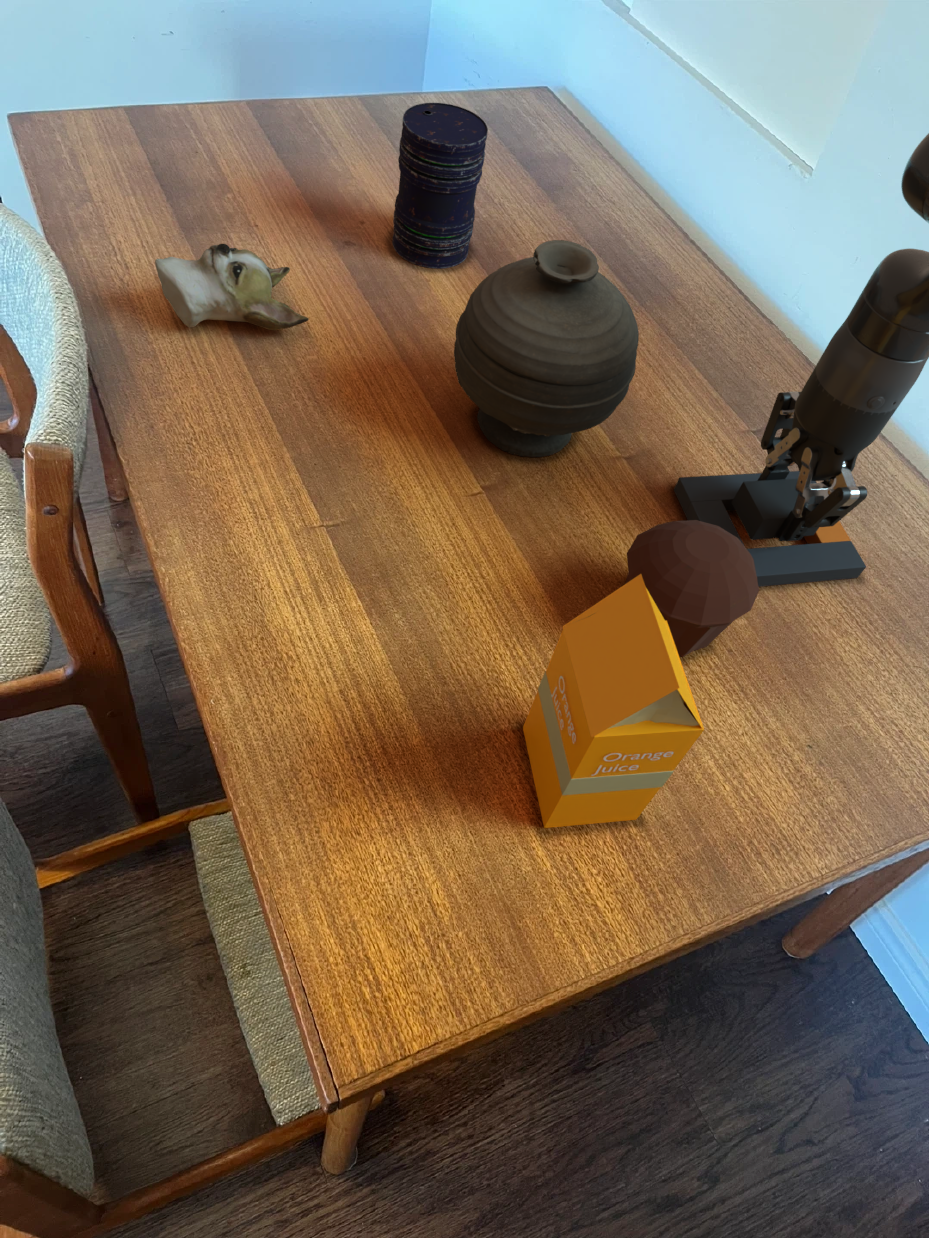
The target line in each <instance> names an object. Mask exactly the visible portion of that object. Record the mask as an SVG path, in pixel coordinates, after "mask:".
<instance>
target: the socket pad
mask: <svg viewBox="0 0 929 1238" xmlns="http://www.w3.org/2000/svg"><path fill="white" fill-rule="evenodd" d="M789 471H790V472H789V474H788V476H787V477H786V479H798V477H799V474H800V472H799V470H793V471H791V470H789ZM761 474H762V472H757V473H739V474H738V473H737V474H718V475H700V476H682V477H678V479H677V481H676V483H675V485H674V488H673V491H674V494H675V496H676V498H677V500H678V502H679V504H680V507H681V509H682V511H683V513H684V515H685V517H686V519H687V520H698V521H701V522H705V523H709V524H713V525H716V526H719V527H721V528H722V529H724V530H726V531H727V532H729V533H731V534H732V535H734V536H735V537H737V538H738V539H739V540H740V541H741V543H742V544H743V545H744V546H745V544H744V542H743V540H742V537H740V535H739V532H738V530H737V528H736V526H735V525H734V522H733V520H732V519H731V517H730V514H729V513H728V512H731V511H732V512H733V511H736V510H735V508H734V506H733V504H732V501H733V499H734V497H735V496H736V494H737V492H738V490H739V488H740V487H741V485H742V483H743V482H745V481H757V480H758V479H759V477H760V475H761ZM811 483H817V481H811ZM687 520H686V521H687ZM803 538H804V540H805V542H806V543H805V544H791V545H778V546H766V547H765V546H764V547H753V548H746V549H747V550H748V551H749V553H750V554H751V556H752V558H753V560H754V565H755V570H756V575H757V582H758V586H759V588H760V587H770V586H772V587H773V586H781V585H793V584H794V585H795V584H805V583H815V582H826V581H837V580H838V581H839V580H850V579H857V578H859V577H860V576H861V574H862V573H863V572H864V571H865V570H866V568H867V565H866V564H865V563H866V562H865V561H864V560H863V558H862V557H861V555H860V554H859V552H858V550H857V548H856V547H855V544H854V543H853V541H852V539H851V538H850V536H849V535H848V533H847V530H845V528H844V526H843V525H842V523H841V520H840V521H838V522H837V523H836V524H835V525H834V526H829V527H819V528H818V530H817V531H816V533H815V534H814V535H813V536H803Z"/></svg>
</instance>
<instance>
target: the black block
mask: <svg viewBox="0 0 929 1238" xmlns="http://www.w3.org/2000/svg"><path fill="white" fill-rule="evenodd" d="M797 480H798V479H780V480H763V481H745V482H743V483H742V485H741V487H740V488H739V490H738V492H737V494H736V496H735V497H734V499H733V501H732V504H733V506H734V508H735V510H734V511H735V513H736V514H737V516H738V518H739V520H740V522H741V524H742V527H743V528H744V531H746V533H747V536H748V538H749V539H750V541H757V540H758V541H760V540H771V539H778V537H777V535H776V534H777V532H778V530H779V529H780V527H781V526H782V524H783V523H784V521H785V520H786V518H787V517H788V515H789V513H790V512H791V510H794V506H795V503H796V500H797V496H798V492H797V491H796V490H795V487H796V484H797ZM814 500H815V496H813V497H811V498H810V500H809V503H808V504H813V503H814ZM818 528H819V527H815V528H809V529H808V530H807V531H806V533H805V534H804V536H813V535H814V534H815V533H816V531H817V530H818ZM804 536H803V537H804Z"/></svg>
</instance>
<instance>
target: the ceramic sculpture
mask: <svg viewBox="0 0 929 1238" xmlns="http://www.w3.org/2000/svg"><path fill="white" fill-rule="evenodd" d="M154 265H155V269H156V273H157V278H158V279H159V282H160V286H161V289H162V294H163V296H164V299H166V300H167V302H168V303H169V304H170V306H171V308H172V309H173V311H174V313H175V314H176V316H177V318H179V319H180V320H181V321H182V323H183V324H184V325H185V326H186V327H187V328H189V329H190V328H194V327H196V326H197V325H198V324H200V323H201V322H203V321H206V320H211V321H212V320H213V321H227V322H228V321H229V322H244V323H245V322H246V323H248V324H250V325H251V324H252V325H255V326H258V327H261V328H264V329H266V330H269V331H279V330H284V329H288V328H293V327H296V326H299V325H302V324H304V323H307V322H308V321H309V320H310V318H309V317H308V316H304V315H302V314H300V313H298V312H296V311H295V310H294V309H293V308H291V307H290V306H289V305H288V304H286V303H283V302H281V301H278V300H276V299H274V298H272V291H273V288H274V287H276V286H277V285H278V284H279V283H280V282H281V281H282V280H283V279H284V278H285V277H286V276H287V275H288V274H289V273H290V271H291V267H290V266H282V267H281V266H280V267H278V268H277V267H276V268H271V267H270V266H267V264H266V263H265V261H263V259H262V258H260V256H258V255H257V254H256V253H254V252H253V251H252V250H249V249H246V248H242V249H238V248H237V247H230V246H229V245H228V244H226V243H219V244H213V245H211V246H209V248H206V249H205V250H204V251H203V252H202V255H201V256H200V258H199V259H185V258H180V257H175V256H168V257H164V258H155V260H154Z"/></svg>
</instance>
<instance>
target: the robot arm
mask: <svg viewBox="0 0 929 1238" xmlns="http://www.w3.org/2000/svg"><path fill="white" fill-rule="evenodd" d="M900 189H901V193H902V197H903V199H904V201H905V204H907V205H908V206H909V208H910V209H911V210H912V211H913V212H914V213H915V214H917V215H918V216H919V217H920V218H922V219H923V220H924V221H925V222H926V223H928V224H929V132H928V133H927V134H926V135H925V136H924V138H922V140H921V141H920V142H919V143H918V145H917V146H916V147H915V148H914V149H913V151H912V153H911V155H910V156H909V158H908V160H907V163H906V164H905V166H904V170H903V173H902V177H901V188H900ZM862 289H863V290H862V291H861V293H860V294H859V296H858V298H857V300H856V301H855V303H854V305H853V307H852V309H851V310H850V312H849V314H848V315H847V317H846V318H845V320H844V322H843V323H841V325H840V327H839V328H838V329H837V330H836V332H835V333H834V334H833V336H832V337H831V339H830V341H829V342H828V343H827V346H826V347H825V349H824V351H823V352H822V354H821V356H820V358H819V359H818V361H817V363H816V364H815V367H814V369H813V370H812V372H811V373H810V375H809V377H808V379H807V380H806V383H805V384H804V386H803V388H802V389H801V391H784V392H781V391H780V392H779V393H777V396H776V397H775V401H774V404H773V407H772V409H771V412H770V415H769V417H768V421H767V423H766V425H765V429H764V432H763V435H762V437H761V440H760V448H761V449H762V450H763V451H764V450H765V451H766V453H767V455H766V457H765V461H764V464H765V466H764V468H763V470H762V472H761V473H762V474H761V475H760V477H759V479H758V480H757V481H763V480H780V479H786V477H787V476H788V474H789V472H790V471H791V470H790V468H789V467H792V466H794V465H795V464H796V466H797V468H798V471H799V472H800V474H799V477H798V480H797V484H796V487H795V490H796V491H797V492H798V496H797V500H796V503H795V506H794V510H791V512H790V513H789V515H788V517H787V518H786V520H785V521H784V523H783V524H782V526H781V527H780V529H779V530H778V532H777V534H776V535H777V537H778V538H777V539H778V541H779V542H794V541H795V542H797V541H800V540H802V539H803V538H804V534H805V533H806V531H807V530H808V529H809V528H815V527H829V526H834V525H835V524H836V523H837V522H838V521H840V522H841V520H842V519H843V518H844V517H846V516H847V515H848V514H849V513H850V512H852V511H853V510H855V508H856V507H858V506H859V505H860V504H861V503H862V502H863V501H864V500H866V499H867V498H868V497H867V496H868V488H867V487H866V486H864V485H857V484H856V481H855V479H854V475H853V474H852V472H853V471H854V469H855V467H856V462H857V458H858V456H859V454H860V453H861V452H862V451H864V450H865V449H866V448H868V447H869V446H870V445H872V444H873V443H874V442H875V441H876V439H877V438H878V437H879V435H880V434H881V432H882V431H883V429H884V428H885V426H886V425H887V424H888V422H889V421H890V420H891V418H892V417H893V415H894V414H895V412H896V411H897V409H898V408H899V406H901V404H902V402H903V401H904V400H905V398H906V397H907V395H908V394H909V393H910V391H911V389H912V388H913V386H914V385H915V384H916V382H917V380H918V378H919V377H920V376H921V374H922V371H923V370H924V368H925V365H926V363H927V362H928V360H929V251H926V250H924V249H918V248H901V249H897V250H894V251H892V252H890V253H889V254H887V255H886V256H885V257H884V258H883V259H882V260H881V261H880V262H879V264H878V265H877V266H876V268H875V269H874V271H873V272H872V274H871V276H870V277H869V279H868V281H867V283H866V284H865V286H864V288H862ZM779 430H781V432H780V435H779V436H776V435H777V432H778V431H779ZM811 481H816V483H811ZM813 496H815V500H814V503H813V504H808V503H809V500H810V498H811V497H813Z"/></svg>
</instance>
